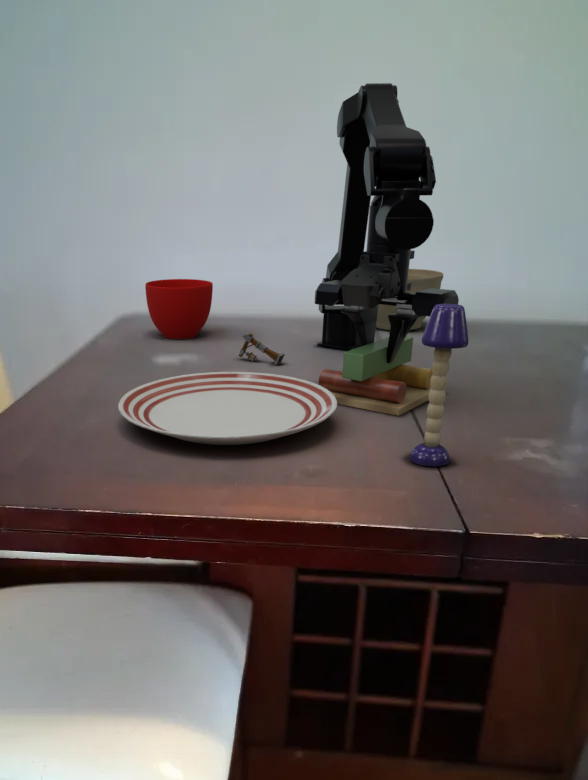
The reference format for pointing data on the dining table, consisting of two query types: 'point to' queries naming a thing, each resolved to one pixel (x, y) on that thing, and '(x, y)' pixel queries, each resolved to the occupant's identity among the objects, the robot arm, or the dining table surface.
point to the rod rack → (381, 389)
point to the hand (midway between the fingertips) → (378, 361)
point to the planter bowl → (419, 282)
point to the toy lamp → (440, 377)
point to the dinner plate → (228, 407)
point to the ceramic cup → (179, 306)
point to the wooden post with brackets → (261, 347)
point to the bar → (374, 359)
